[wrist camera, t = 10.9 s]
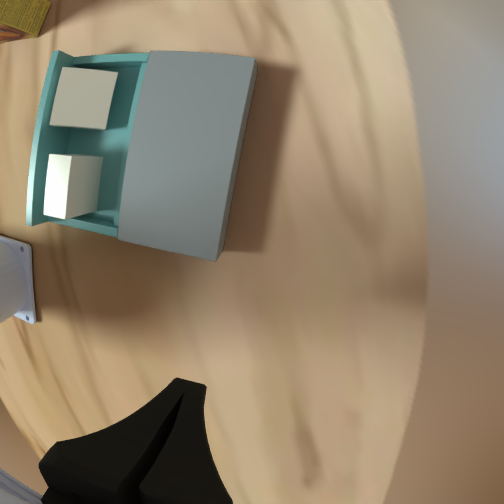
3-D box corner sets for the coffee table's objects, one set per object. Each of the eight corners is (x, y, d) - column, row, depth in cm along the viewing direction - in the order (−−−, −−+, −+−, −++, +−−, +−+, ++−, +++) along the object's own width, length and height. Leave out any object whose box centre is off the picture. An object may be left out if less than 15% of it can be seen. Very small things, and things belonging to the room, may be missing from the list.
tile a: (96, 210, 21) (76, 206, 21) (103, 156, 20) (82, 154, 20) (65, 219, 17) (43, 214, 17) (71, 156, 16) (49, 154, 16)
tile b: (105, 129, 18) (104, 130, 20) (118, 72, 17) (115, 78, 19) (49, 124, 16) (52, 126, 18) (62, 66, 15) (64, 73, 17)
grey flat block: (133, 232, 22) (117, 239, 19) (163, 61, 19) (150, 50, 16) (222, 251, 22) (215, 261, 19) (257, 70, 18) (255, 58, 16)
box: (57, 216, 22) (26, 224, 18) (82, 64, 19) (52, 51, 15) (129, 231, 22) (102, 243, 18) (159, 61, 19) (136, 43, 15)
